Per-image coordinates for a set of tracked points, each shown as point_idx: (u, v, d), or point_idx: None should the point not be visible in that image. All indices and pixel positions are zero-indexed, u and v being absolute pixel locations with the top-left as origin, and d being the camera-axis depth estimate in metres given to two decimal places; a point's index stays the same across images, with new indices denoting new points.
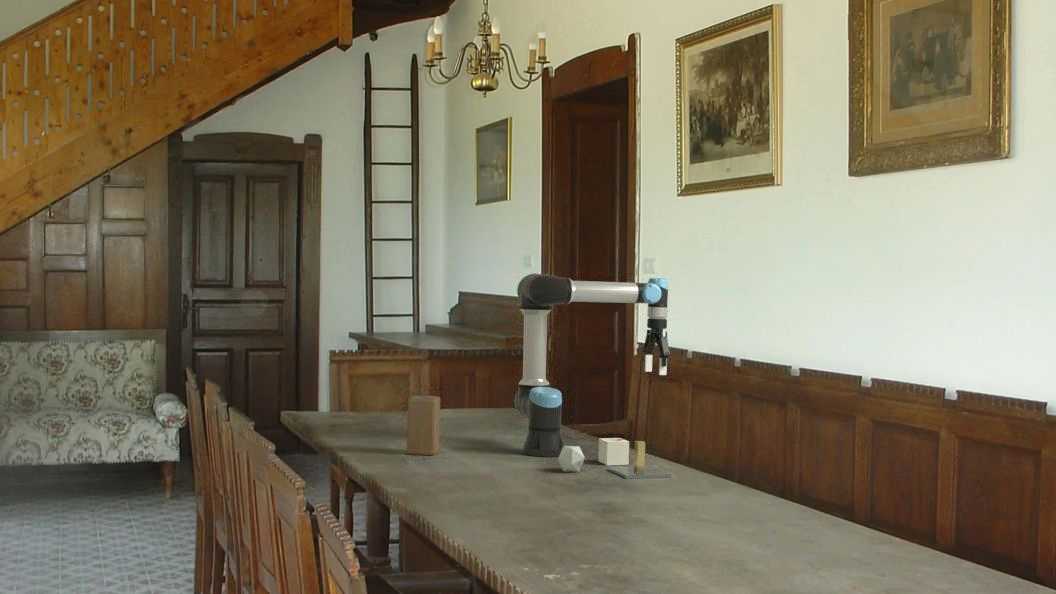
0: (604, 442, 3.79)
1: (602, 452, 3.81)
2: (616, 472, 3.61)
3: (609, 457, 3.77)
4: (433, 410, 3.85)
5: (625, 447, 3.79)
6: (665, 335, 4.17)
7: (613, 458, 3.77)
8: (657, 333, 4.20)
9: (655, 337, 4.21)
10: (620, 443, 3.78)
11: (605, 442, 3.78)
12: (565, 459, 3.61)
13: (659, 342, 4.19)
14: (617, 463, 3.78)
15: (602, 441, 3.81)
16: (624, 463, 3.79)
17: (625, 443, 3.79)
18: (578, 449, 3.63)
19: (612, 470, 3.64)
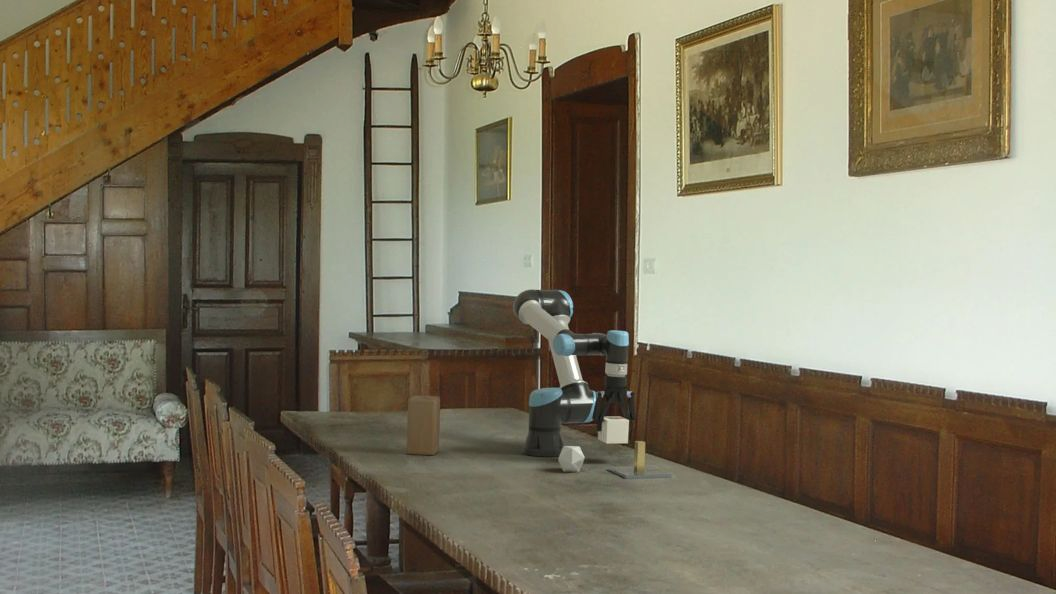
0: (604, 420, 3.80)
1: None
2: (616, 472, 3.61)
3: (609, 435, 3.77)
4: (433, 410, 3.85)
5: (625, 426, 3.79)
6: (597, 396, 3.79)
7: (613, 436, 3.78)
8: None
9: None
10: (620, 422, 3.78)
11: (605, 420, 3.79)
12: (565, 459, 3.61)
13: (604, 403, 3.81)
14: (616, 441, 3.78)
15: None
16: (623, 441, 3.79)
17: (625, 422, 3.79)
18: (578, 449, 3.63)
19: (612, 470, 3.64)
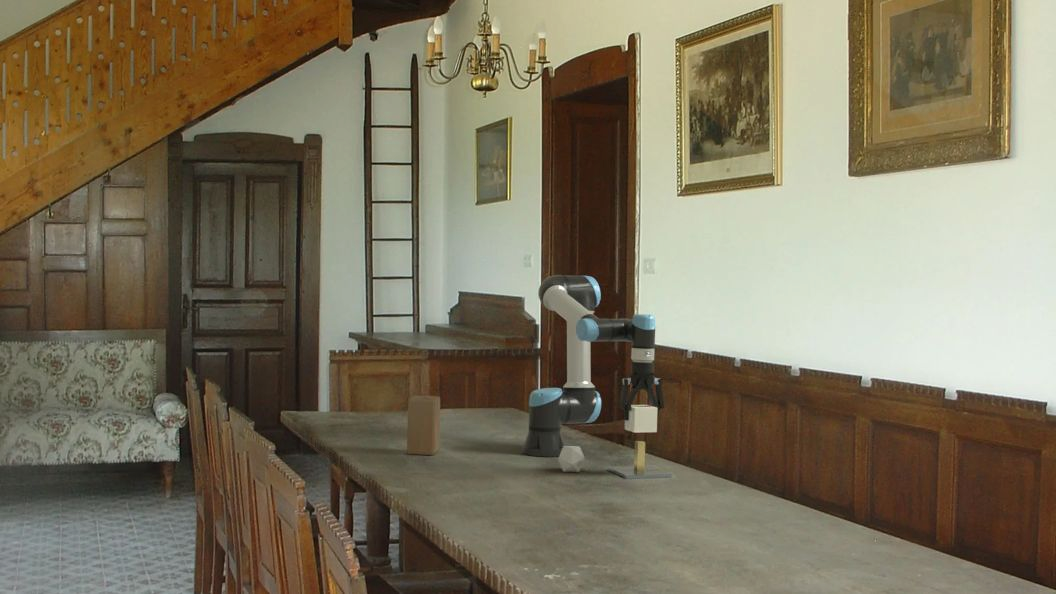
0: (631, 408, 3.60)
1: None
2: (616, 472, 3.61)
3: (637, 424, 3.58)
4: (433, 410, 3.85)
5: (653, 414, 3.60)
6: (624, 383, 3.60)
7: (641, 425, 3.58)
8: None
9: None
10: (648, 409, 3.59)
11: (632, 408, 3.59)
12: (565, 459, 3.61)
13: (631, 390, 3.62)
14: (645, 430, 3.59)
15: None
16: (652, 430, 3.60)
17: (653, 409, 3.60)
18: (578, 449, 3.63)
19: (612, 470, 3.64)
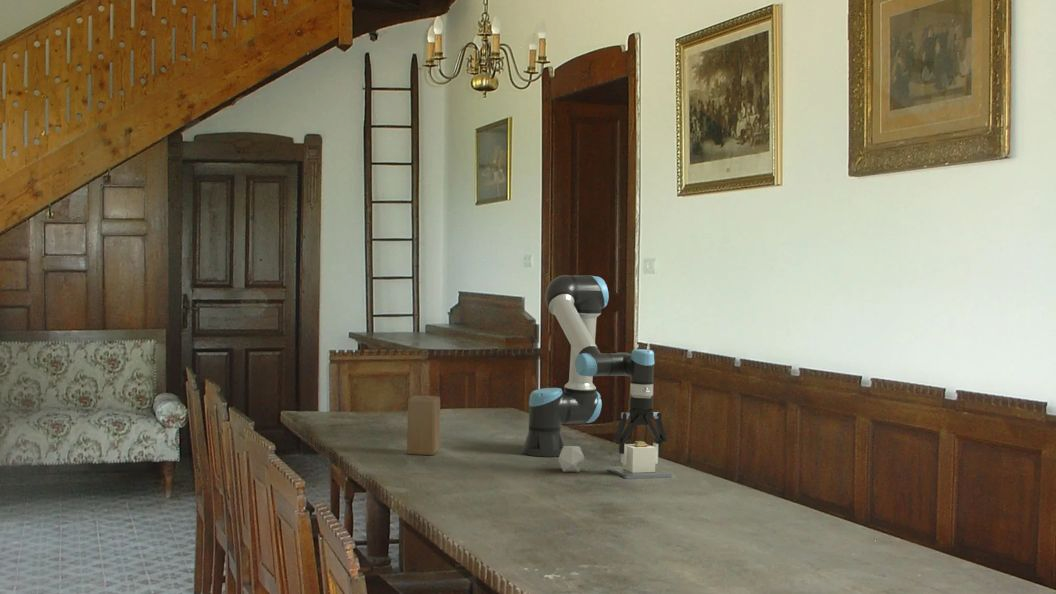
0: (629, 448, 3.61)
1: (627, 458, 3.62)
2: (616, 472, 3.61)
3: (635, 464, 3.58)
4: (433, 410, 3.85)
5: (651, 453, 3.60)
6: (622, 417, 3.60)
7: (639, 465, 3.59)
8: None
9: None
10: (646, 449, 3.59)
11: (630, 448, 3.60)
12: (565, 459, 3.61)
13: (628, 425, 3.62)
14: (643, 470, 3.59)
15: (627, 447, 3.62)
16: (650, 470, 3.60)
17: (651, 449, 3.60)
18: (578, 449, 3.63)
19: (612, 470, 3.64)
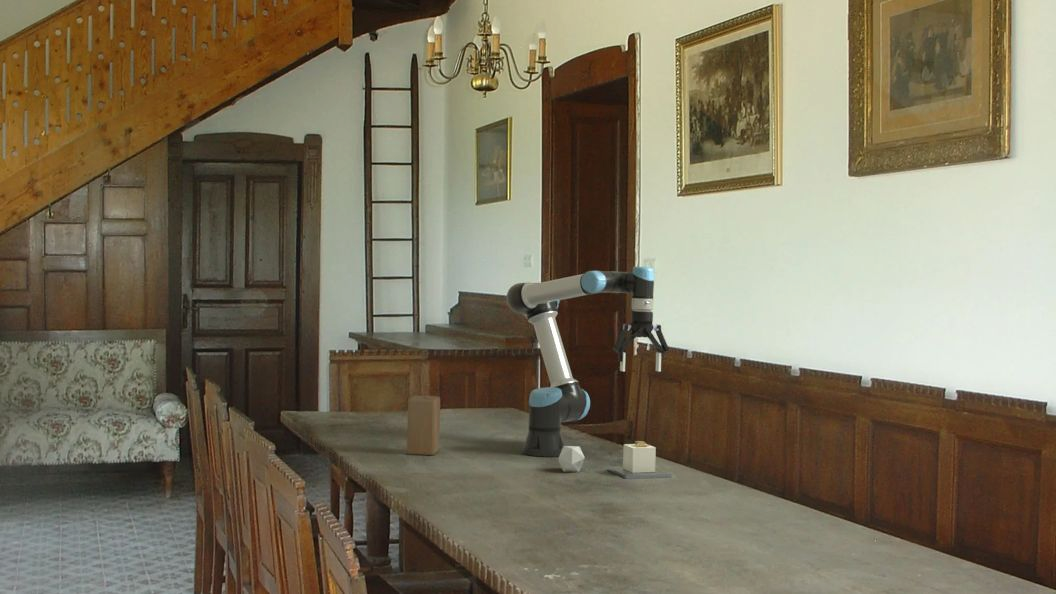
0: (629, 448, 3.61)
1: (627, 458, 3.62)
2: (616, 472, 3.61)
3: (635, 464, 3.58)
4: (433, 410, 3.85)
5: (651, 453, 3.60)
6: (624, 328, 3.83)
7: (639, 465, 3.59)
8: None
9: (632, 331, 3.86)
10: (646, 449, 3.59)
11: (630, 448, 3.60)
12: (565, 459, 3.61)
13: (629, 336, 3.85)
14: (643, 470, 3.59)
15: (627, 447, 3.62)
16: (650, 470, 3.60)
17: (651, 449, 3.60)
18: (578, 449, 3.63)
19: (612, 470, 3.64)
